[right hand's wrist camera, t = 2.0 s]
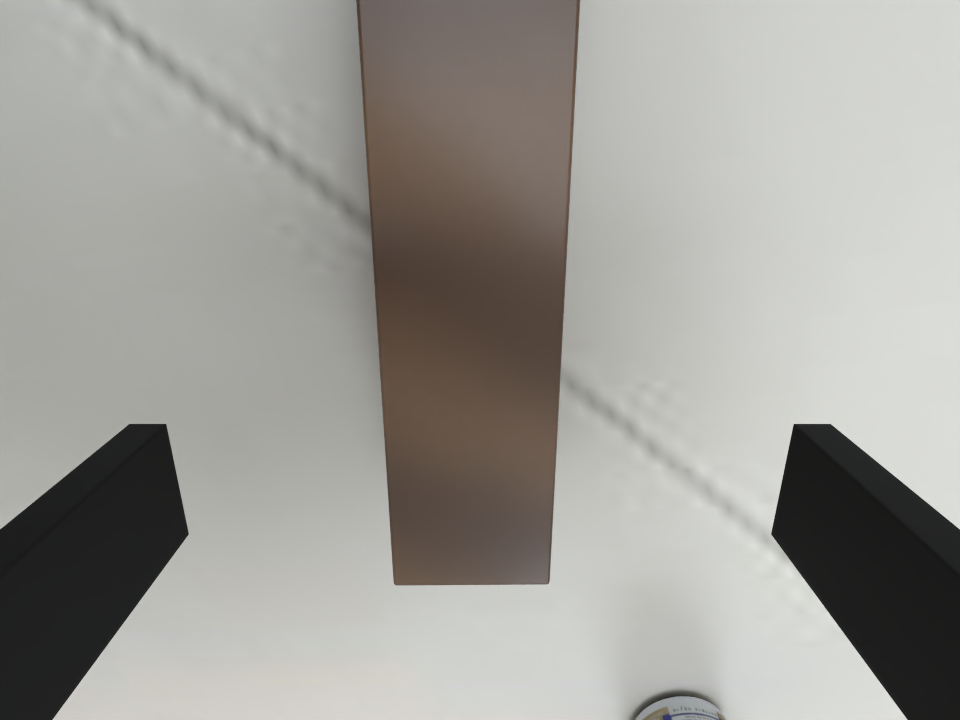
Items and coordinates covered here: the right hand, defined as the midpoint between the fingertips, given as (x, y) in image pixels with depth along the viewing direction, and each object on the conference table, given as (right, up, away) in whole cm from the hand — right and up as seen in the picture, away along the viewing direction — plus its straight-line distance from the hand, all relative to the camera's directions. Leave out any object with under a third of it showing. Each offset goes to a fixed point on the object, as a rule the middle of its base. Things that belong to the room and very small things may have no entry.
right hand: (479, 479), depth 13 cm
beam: (0, +28, +2) cm, 28 cm away
